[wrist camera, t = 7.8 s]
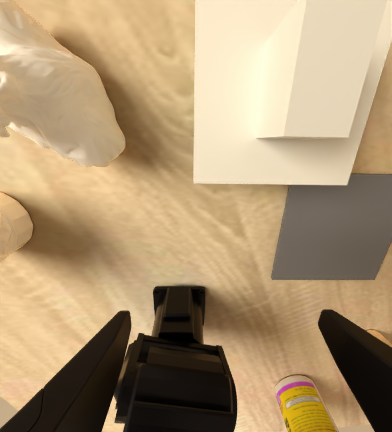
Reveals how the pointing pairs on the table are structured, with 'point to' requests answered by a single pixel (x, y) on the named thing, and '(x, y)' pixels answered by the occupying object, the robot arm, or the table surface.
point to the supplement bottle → (303, 406)
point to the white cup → (13, 226)
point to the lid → (285, 88)
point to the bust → (53, 94)
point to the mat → (335, 230)
